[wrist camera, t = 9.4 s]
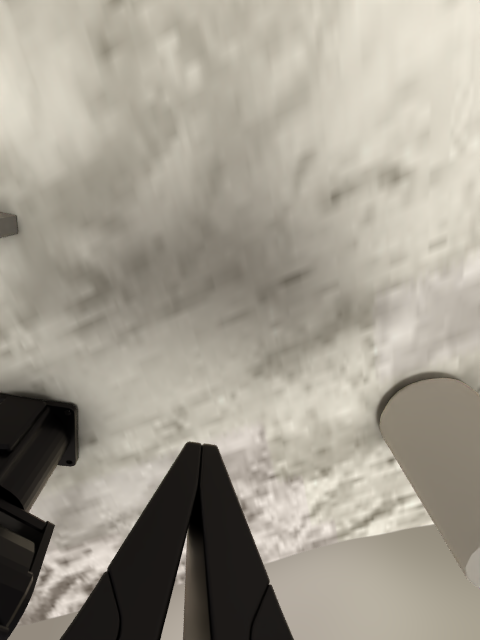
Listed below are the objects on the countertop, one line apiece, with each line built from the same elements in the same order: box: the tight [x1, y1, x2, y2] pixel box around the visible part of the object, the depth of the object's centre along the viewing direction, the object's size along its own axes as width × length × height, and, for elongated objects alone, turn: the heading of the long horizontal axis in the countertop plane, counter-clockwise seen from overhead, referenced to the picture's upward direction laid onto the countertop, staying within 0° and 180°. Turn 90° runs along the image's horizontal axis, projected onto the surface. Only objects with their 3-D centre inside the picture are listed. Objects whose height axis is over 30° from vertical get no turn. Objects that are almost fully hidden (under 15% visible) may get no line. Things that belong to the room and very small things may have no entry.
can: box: [379, 378, 480, 589], centre depth 18 cm, size 8×8×12 cm
